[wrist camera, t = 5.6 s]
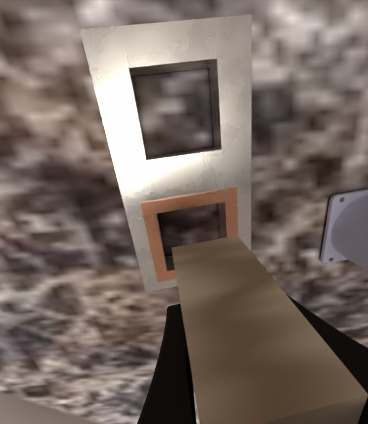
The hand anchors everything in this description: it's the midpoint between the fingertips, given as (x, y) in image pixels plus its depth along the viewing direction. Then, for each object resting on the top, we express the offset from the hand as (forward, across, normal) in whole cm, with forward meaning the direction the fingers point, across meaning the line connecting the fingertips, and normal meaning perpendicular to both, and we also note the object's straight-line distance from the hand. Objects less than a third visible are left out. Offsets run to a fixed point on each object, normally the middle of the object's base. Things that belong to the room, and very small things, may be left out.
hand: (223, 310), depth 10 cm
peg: (+3, 0, 0) cm, 3 cm away
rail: (+10, 0, -5) cm, 11 cm away
